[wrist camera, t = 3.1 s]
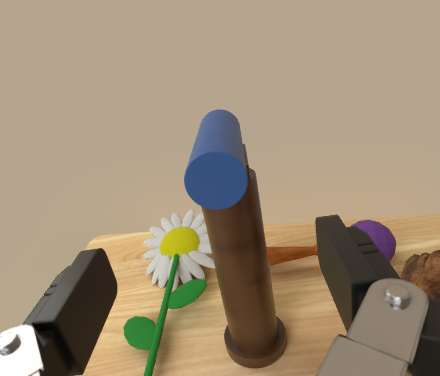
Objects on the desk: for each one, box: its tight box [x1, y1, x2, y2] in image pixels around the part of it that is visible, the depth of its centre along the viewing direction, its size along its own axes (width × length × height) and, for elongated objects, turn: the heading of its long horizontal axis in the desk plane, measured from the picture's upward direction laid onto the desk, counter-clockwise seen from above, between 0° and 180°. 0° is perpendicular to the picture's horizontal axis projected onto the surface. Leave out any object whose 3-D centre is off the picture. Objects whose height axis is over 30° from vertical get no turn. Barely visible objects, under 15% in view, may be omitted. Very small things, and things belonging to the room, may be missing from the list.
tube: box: [184, 110, 248, 210], centre depth 24 cm, size 12×4×4 cm, turn 179°
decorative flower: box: [124, 209, 215, 376], centre depth 41 cm, size 13×5×30 cm
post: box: [201, 144, 286, 368], centre depth 31 cm, size 6×6×21 cm
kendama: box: [266, 220, 396, 265], centre depth 43 cm, size 6×6×20 cm
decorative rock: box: [401, 250, 440, 299], centre depth 30 cm, size 12×6×11 cm, turn 135°
